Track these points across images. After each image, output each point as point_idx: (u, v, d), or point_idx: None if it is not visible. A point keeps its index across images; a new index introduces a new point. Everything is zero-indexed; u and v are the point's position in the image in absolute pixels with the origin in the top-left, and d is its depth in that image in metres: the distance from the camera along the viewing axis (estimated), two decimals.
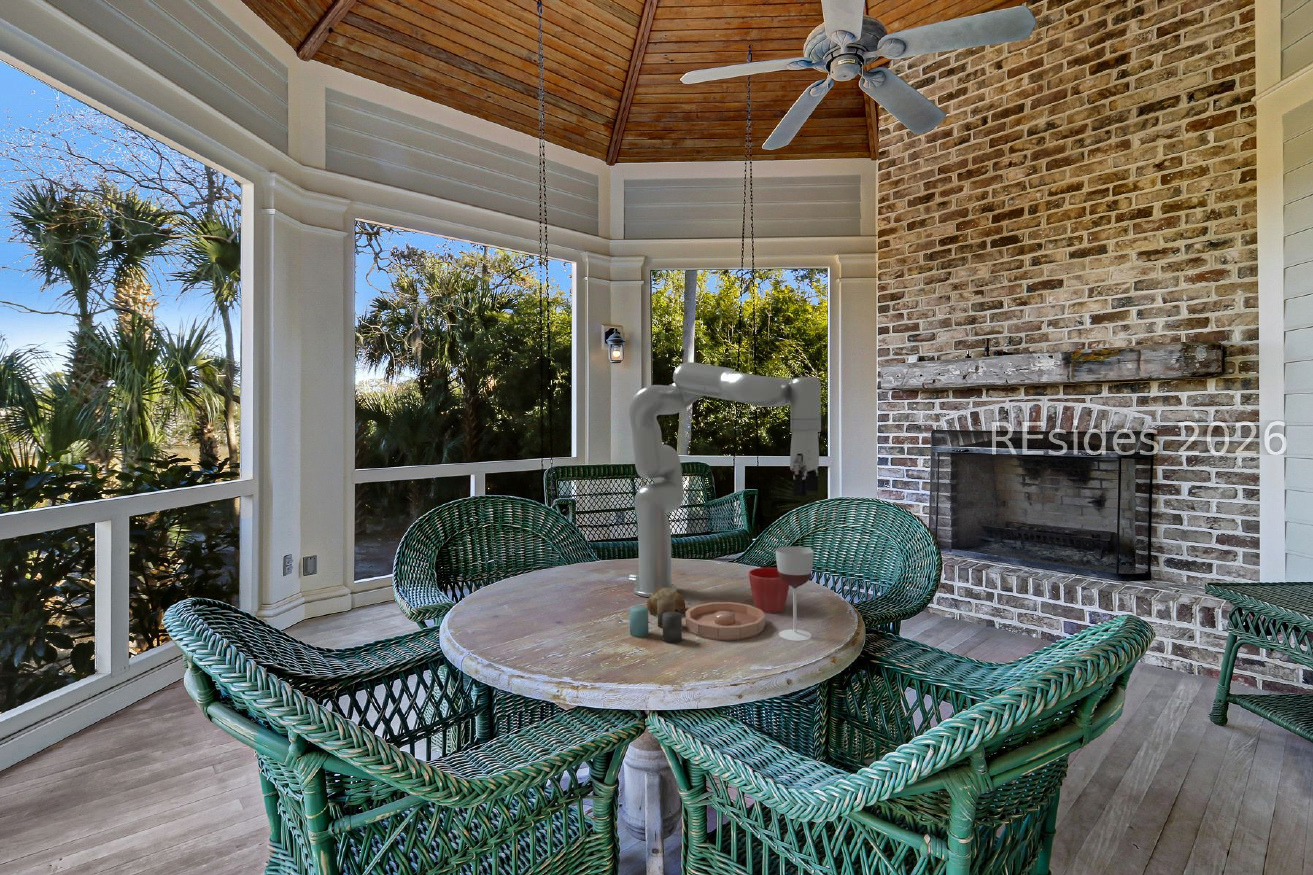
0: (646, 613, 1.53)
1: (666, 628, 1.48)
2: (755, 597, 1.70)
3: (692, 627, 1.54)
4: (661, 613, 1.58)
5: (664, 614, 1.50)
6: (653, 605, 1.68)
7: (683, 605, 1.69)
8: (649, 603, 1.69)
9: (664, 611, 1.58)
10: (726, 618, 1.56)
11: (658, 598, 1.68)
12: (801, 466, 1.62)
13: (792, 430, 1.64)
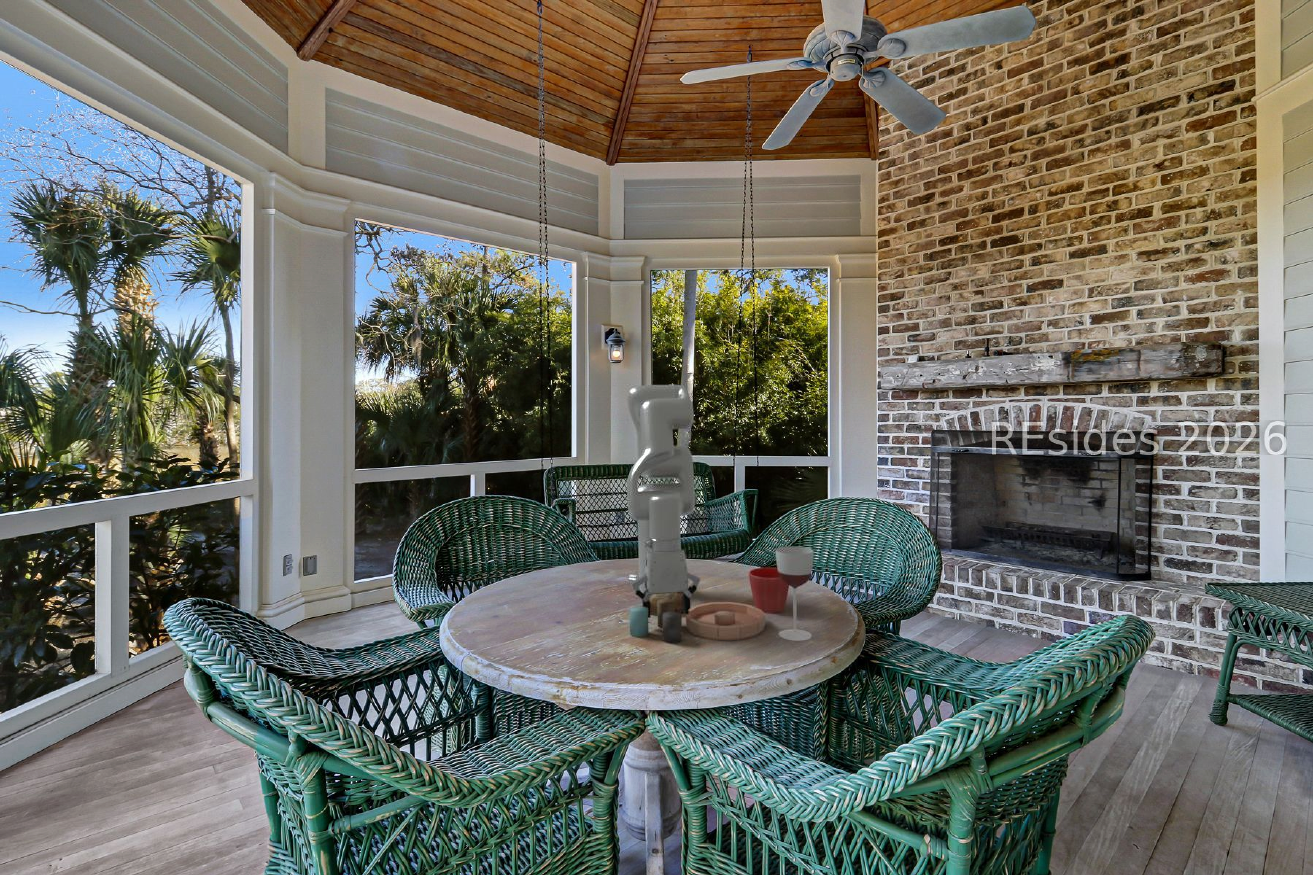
0: (646, 613, 1.53)
1: (666, 628, 1.48)
2: (755, 597, 1.70)
3: (692, 627, 1.54)
4: (661, 613, 1.58)
5: (664, 614, 1.50)
6: (653, 604, 1.68)
7: None
8: None
9: (664, 611, 1.58)
10: (726, 618, 1.56)
11: (657, 598, 1.68)
12: None
13: (678, 550, 1.57)
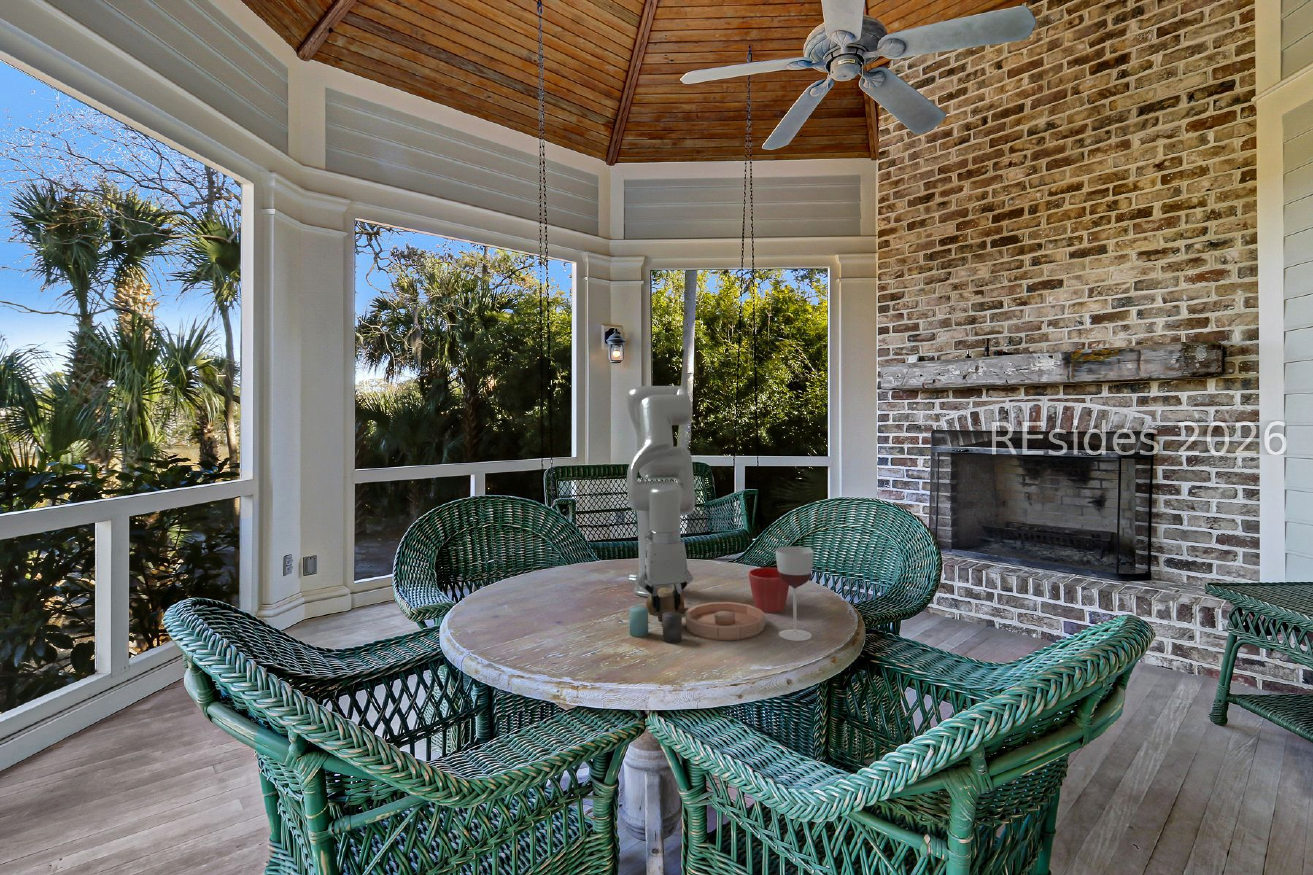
0: (646, 613, 1.53)
1: (666, 628, 1.48)
2: (755, 597, 1.70)
3: (692, 627, 1.54)
4: (661, 607, 1.59)
5: (664, 614, 1.50)
6: None
7: (682, 605, 1.70)
8: (648, 603, 1.70)
9: (664, 606, 1.59)
10: (726, 618, 1.56)
11: None
12: None
13: (678, 542, 1.58)
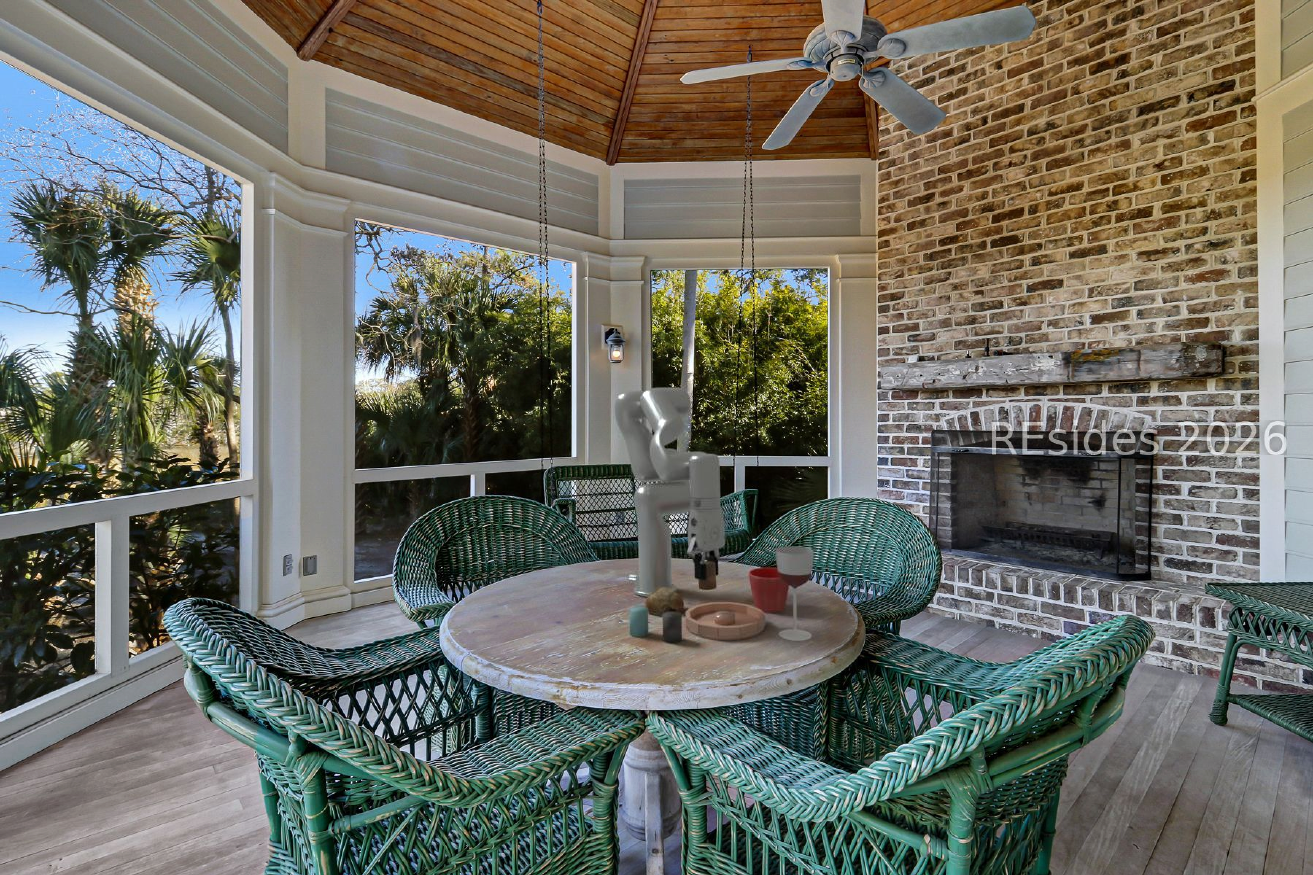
0: (646, 613, 1.53)
1: (666, 628, 1.48)
2: (755, 597, 1.70)
3: (692, 627, 1.54)
4: (707, 574, 1.59)
5: (664, 614, 1.50)
6: (652, 604, 1.68)
7: (681, 604, 1.70)
8: (647, 603, 1.70)
9: (710, 572, 1.59)
10: (726, 618, 1.56)
11: (656, 598, 1.68)
12: None
13: None
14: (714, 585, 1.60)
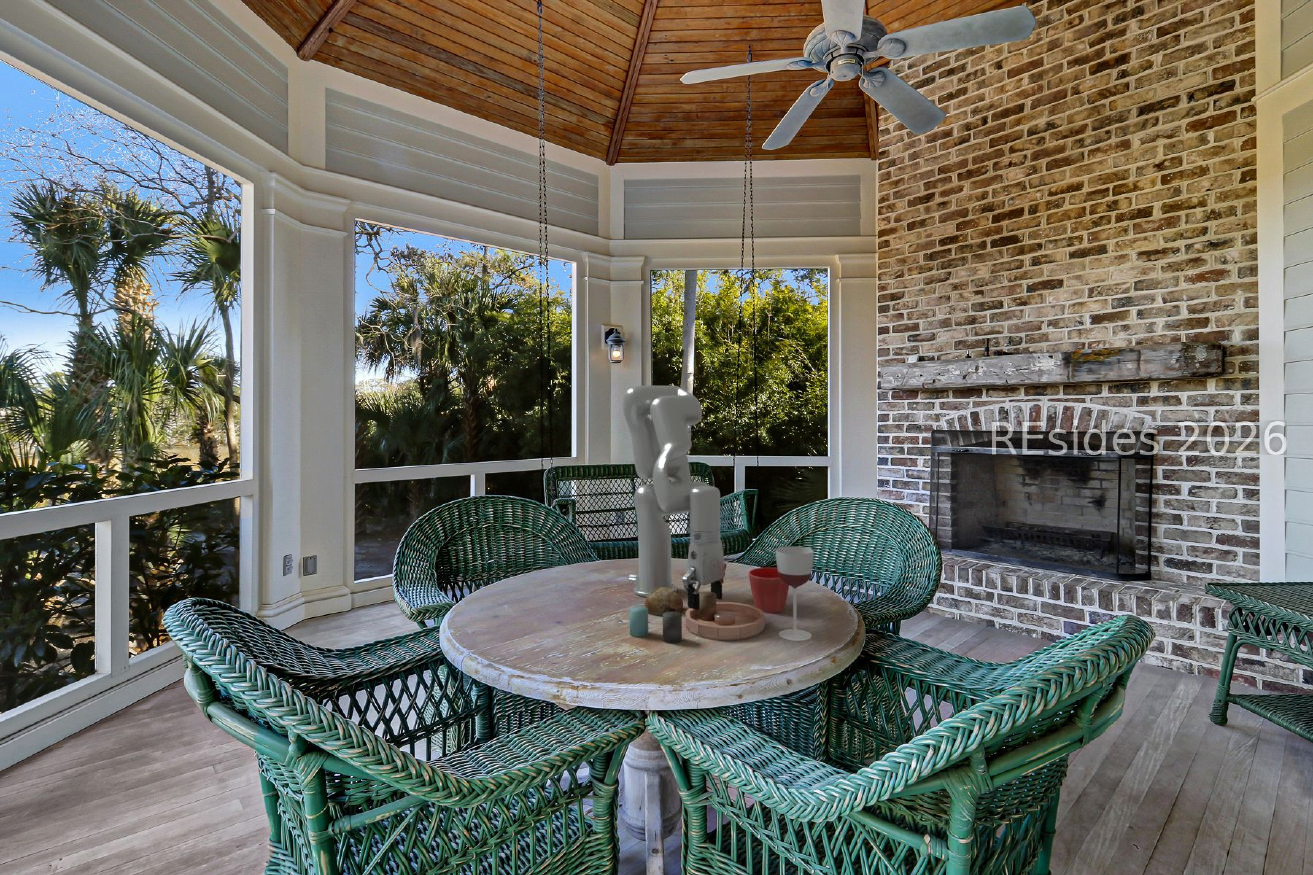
0: (646, 613, 1.53)
1: (666, 628, 1.48)
2: (755, 597, 1.70)
3: (692, 627, 1.54)
4: (708, 606, 1.60)
5: (664, 614, 1.50)
6: (651, 604, 1.68)
7: (681, 604, 1.70)
8: (647, 602, 1.70)
9: (711, 603, 1.60)
10: (726, 618, 1.56)
11: (656, 597, 1.69)
12: None
13: None
14: (714, 616, 1.61)
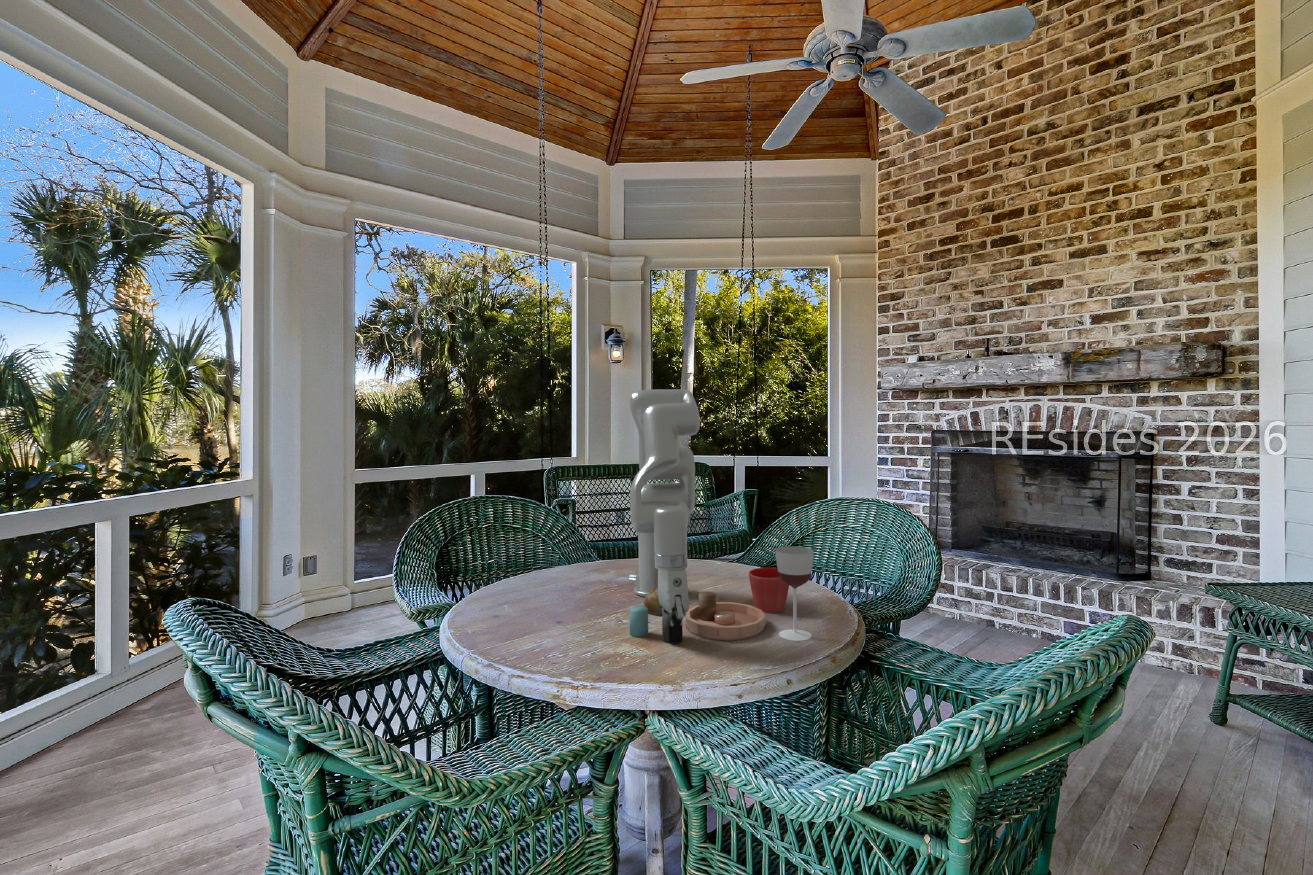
0: (646, 613, 1.53)
1: (666, 628, 1.48)
2: (755, 597, 1.70)
3: (692, 627, 1.54)
4: (708, 606, 1.60)
5: (664, 614, 1.50)
6: (650, 604, 1.69)
7: None
8: (646, 602, 1.70)
9: (711, 603, 1.60)
10: (726, 618, 1.56)
11: (655, 597, 1.69)
12: None
13: None
14: (714, 616, 1.61)
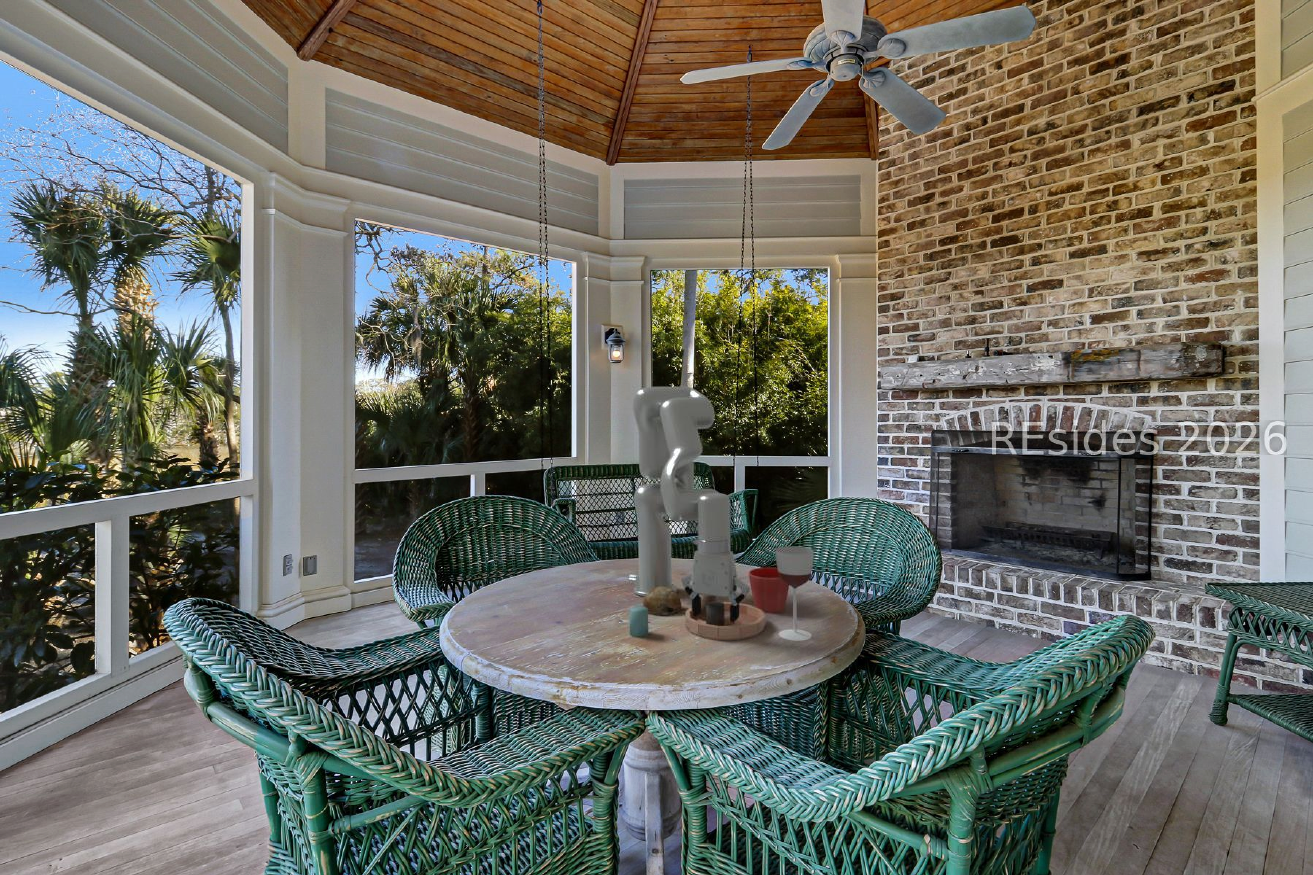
0: (646, 613, 1.53)
1: None
2: (755, 597, 1.70)
3: (692, 627, 1.54)
4: None
5: (720, 602, 1.55)
6: (649, 603, 1.69)
7: (679, 604, 1.70)
8: (645, 602, 1.70)
9: None
10: (726, 618, 1.56)
11: (654, 597, 1.69)
12: None
13: (720, 553, 1.50)
14: None
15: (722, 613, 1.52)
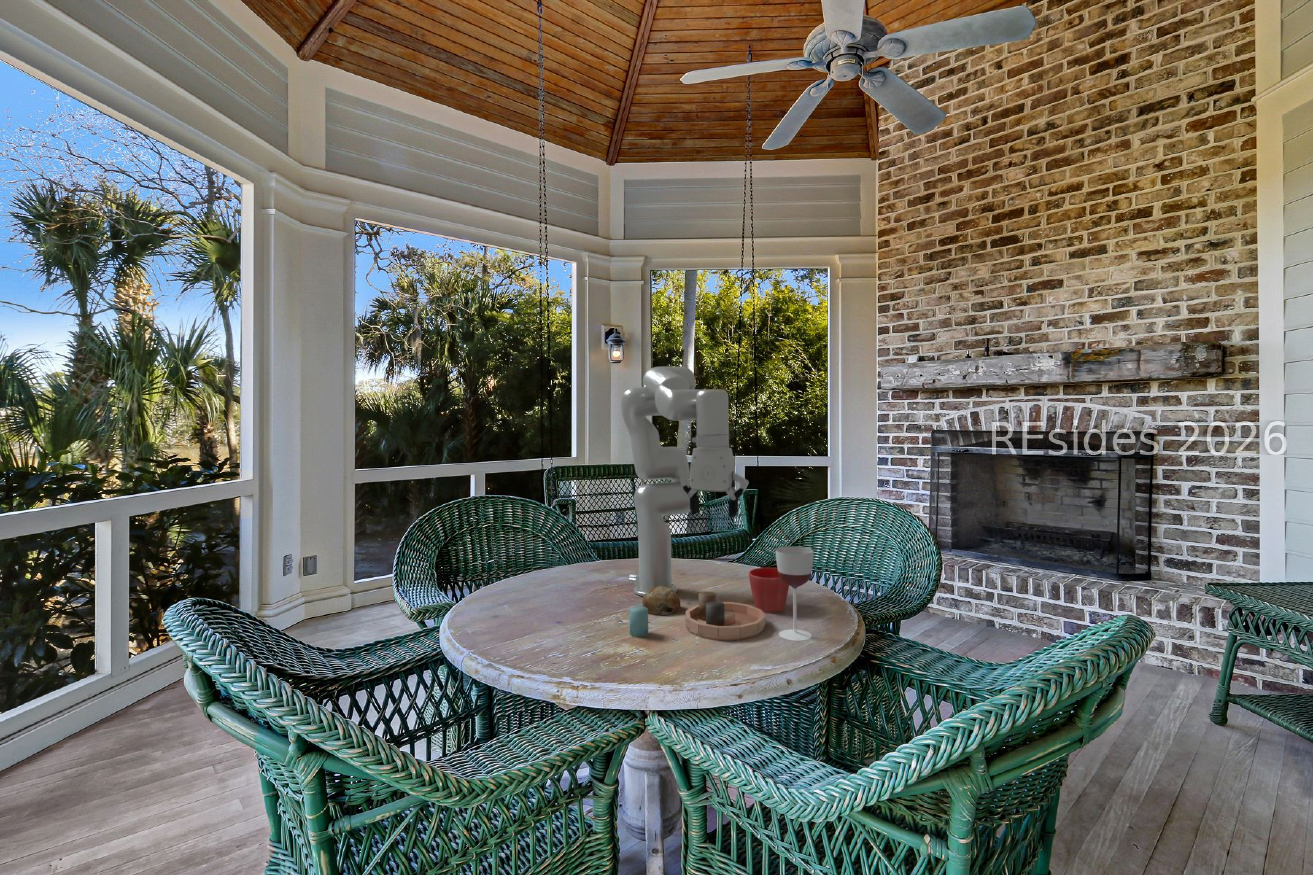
0: (646, 613, 1.53)
1: None
2: (755, 597, 1.70)
3: (692, 627, 1.54)
4: None
5: (720, 602, 1.55)
6: (649, 603, 1.69)
7: (678, 603, 1.71)
8: (644, 602, 1.71)
9: None
10: (726, 618, 1.56)
11: (653, 597, 1.69)
12: None
13: (718, 447, 1.48)
14: None
15: (722, 613, 1.52)
